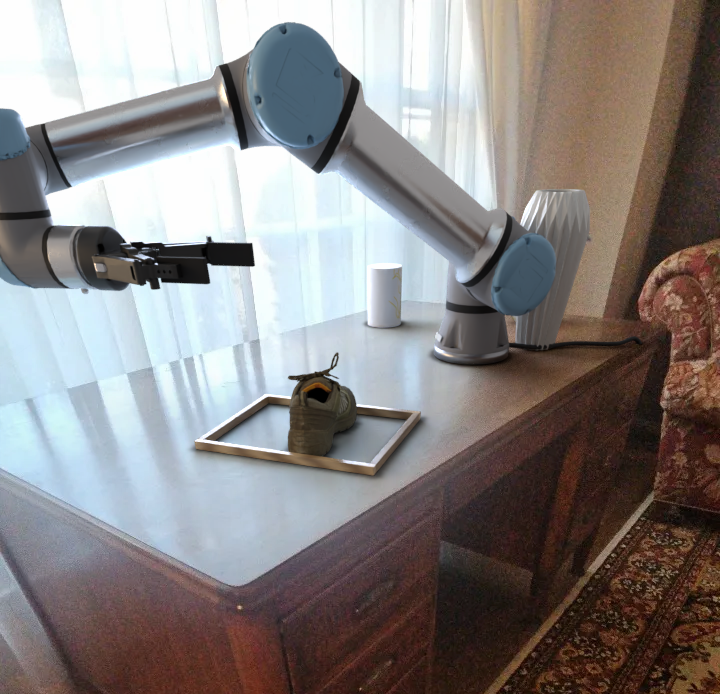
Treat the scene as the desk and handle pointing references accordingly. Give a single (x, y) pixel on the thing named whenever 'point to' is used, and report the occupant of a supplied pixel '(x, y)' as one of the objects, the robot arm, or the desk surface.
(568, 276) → the vase
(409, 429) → the wooden frame
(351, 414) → the hiking shoe
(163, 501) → the desk surface
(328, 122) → the robot arm
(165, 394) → the desk surface
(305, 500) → the desk surface
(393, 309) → the cup
